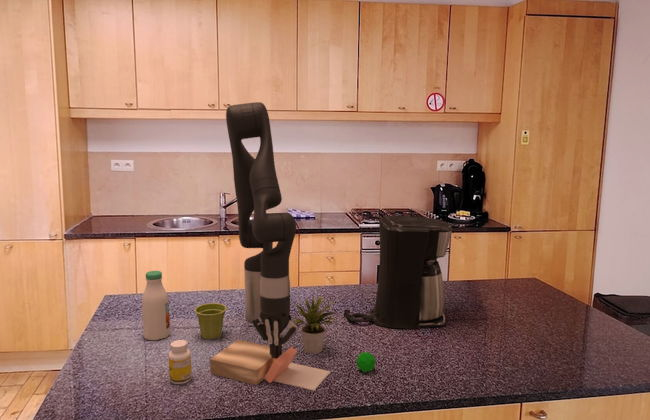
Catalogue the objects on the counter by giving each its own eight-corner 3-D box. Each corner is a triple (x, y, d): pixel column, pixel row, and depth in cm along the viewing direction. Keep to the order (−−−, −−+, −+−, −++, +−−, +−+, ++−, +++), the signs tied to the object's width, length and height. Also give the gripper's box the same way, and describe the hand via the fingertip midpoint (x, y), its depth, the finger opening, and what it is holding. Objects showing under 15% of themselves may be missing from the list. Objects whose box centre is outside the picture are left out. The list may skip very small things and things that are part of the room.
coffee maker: (460, 323, 163) (466, 222, 158) (375, 342, 149) (378, 231, 143) (418, 301, 183) (421, 210, 178) (339, 316, 169) (341, 218, 164)
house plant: (300, 367, 133) (300, 309, 131) (277, 347, 145) (276, 293, 142) (345, 354, 141) (345, 299, 138) (319, 337, 152) (319, 285, 150)
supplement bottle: (172, 374, 129) (170, 338, 128) (193, 373, 130) (192, 338, 128) (167, 385, 124) (165, 348, 122) (189, 384, 124) (188, 347, 123)
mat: (289, 363, 136) (289, 362, 136) (330, 372, 131) (330, 371, 131) (271, 380, 127) (271, 379, 127) (314, 390, 122) (314, 389, 122)
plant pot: (232, 331, 156) (232, 305, 154) (216, 344, 147) (216, 316, 146) (206, 327, 159) (205, 301, 157) (189, 339, 150) (188, 312, 149)
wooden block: (238, 353, 142) (238, 339, 141) (282, 362, 136) (282, 348, 135) (210, 373, 130) (209, 359, 129) (256, 385, 124) (256, 370, 124)
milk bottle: (162, 342, 148) (158, 277, 145) (138, 339, 150) (134, 275, 146) (174, 331, 156) (172, 269, 152) (152, 329, 157) (148, 268, 154)
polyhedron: (374, 375, 129) (374, 358, 129) (355, 374, 130) (355, 357, 129) (375, 366, 134) (376, 350, 133) (357, 365, 135) (357, 348, 134)
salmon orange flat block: (291, 346, 131) (297, 351, 131) (281, 362, 133) (287, 367, 133) (274, 361, 123) (280, 366, 123) (264, 378, 125) (270, 383, 125)
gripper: (305, 291, 126) (305, 355, 129) (260, 284, 131) (261, 346, 134) (291, 300, 119) (291, 368, 122) (244, 292, 125) (245, 358, 128)
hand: (275, 356), depth 128 cm, fingers closed
